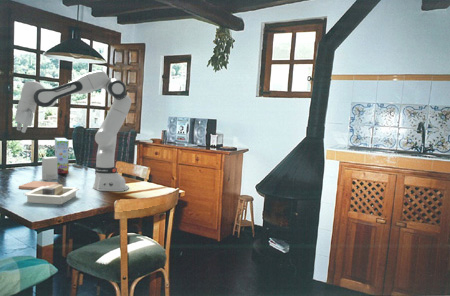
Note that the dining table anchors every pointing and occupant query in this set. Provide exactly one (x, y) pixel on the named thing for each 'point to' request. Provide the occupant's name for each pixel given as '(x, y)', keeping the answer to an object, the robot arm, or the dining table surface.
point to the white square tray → (50, 196)
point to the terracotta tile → (36, 184)
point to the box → (53, 190)
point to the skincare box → (49, 168)
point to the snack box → (61, 154)
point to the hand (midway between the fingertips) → (20, 131)
